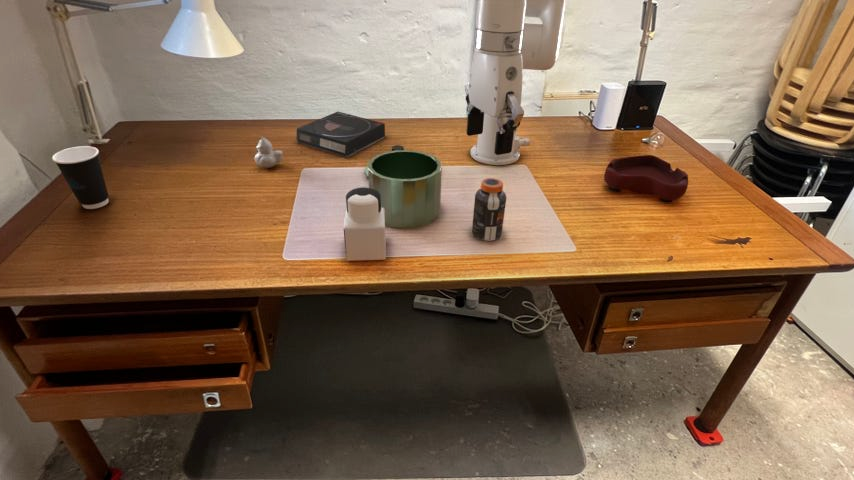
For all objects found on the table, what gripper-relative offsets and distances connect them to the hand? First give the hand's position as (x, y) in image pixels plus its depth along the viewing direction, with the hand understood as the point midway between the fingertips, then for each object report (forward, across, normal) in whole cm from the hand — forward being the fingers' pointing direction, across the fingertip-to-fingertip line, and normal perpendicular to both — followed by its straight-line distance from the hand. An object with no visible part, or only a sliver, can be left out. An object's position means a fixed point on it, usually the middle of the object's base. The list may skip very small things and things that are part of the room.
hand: (488, 143), depth 91 cm
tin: (+18, +13, +10) cm, 25 cm away
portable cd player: (+18, +55, +11) cm, 59 cm away
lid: (+17, +30, +5) cm, 35 cm away
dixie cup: (+18, +42, +69) cm, 83 cm away
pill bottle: (+18, -2, -1) cm, 18 cm away
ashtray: (+18, +2, -46) cm, 49 cm away
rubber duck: (+18, +46, +32) cm, 59 cm away
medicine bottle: (+18, +2, +23) cm, 30 cm away
